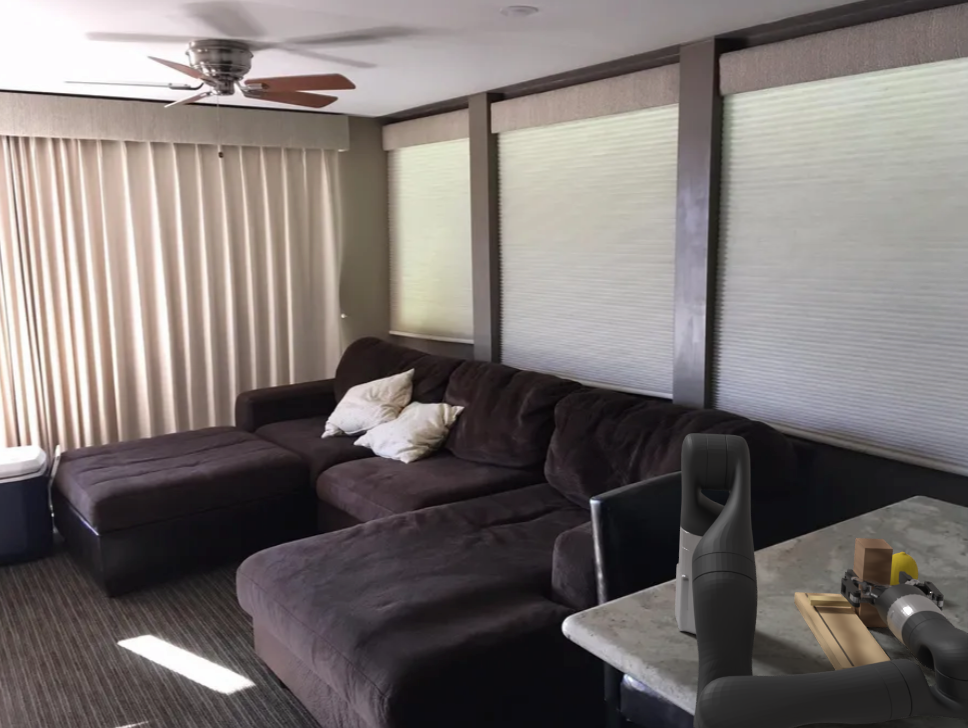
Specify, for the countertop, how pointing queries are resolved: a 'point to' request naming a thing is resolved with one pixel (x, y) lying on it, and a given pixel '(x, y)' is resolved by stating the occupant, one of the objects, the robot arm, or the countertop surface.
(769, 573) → the countertop surface
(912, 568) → the lemon
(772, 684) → the robot arm
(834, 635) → the board
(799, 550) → the countertop surface
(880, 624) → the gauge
